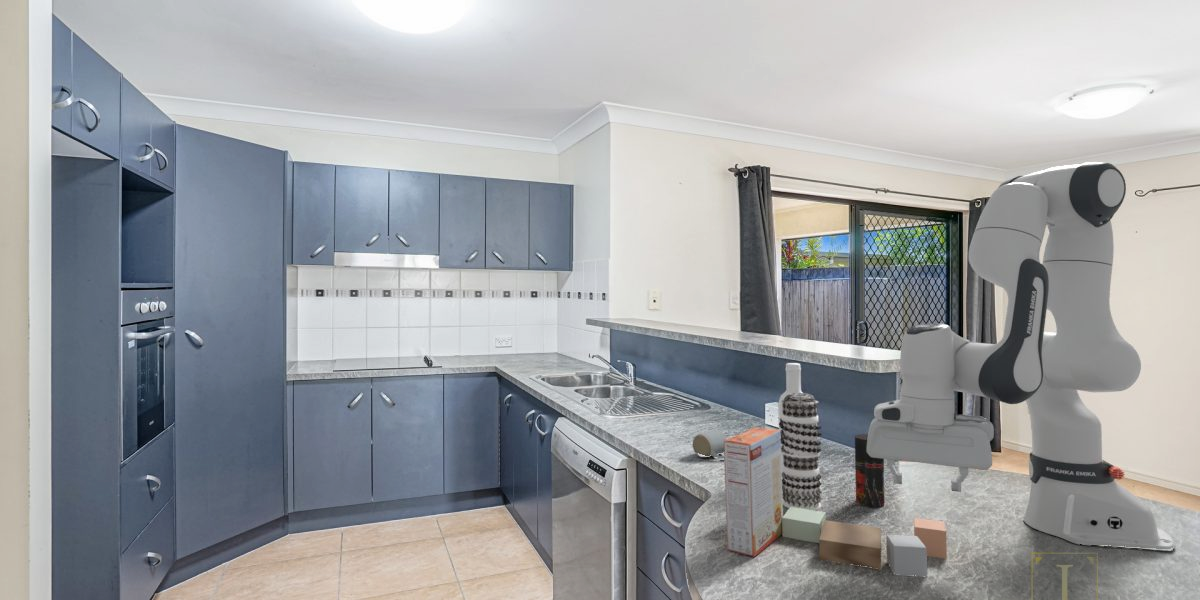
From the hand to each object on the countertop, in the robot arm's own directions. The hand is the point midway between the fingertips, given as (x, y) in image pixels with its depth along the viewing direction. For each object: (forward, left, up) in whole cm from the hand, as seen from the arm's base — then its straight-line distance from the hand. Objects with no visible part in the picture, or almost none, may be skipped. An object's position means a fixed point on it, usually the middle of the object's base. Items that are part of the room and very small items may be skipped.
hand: (926, 486), depth 110 cm
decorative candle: (+25, -16, -12) cm, 32 cm away
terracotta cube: (0, 0, -12) cm, 12 cm away
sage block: (+22, +1, -12) cm, 25 cm away
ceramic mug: (+54, -48, -12) cm, 73 cm away
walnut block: (+13, +7, -12) cm, 19 cm away
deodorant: (+11, -23, -12) cm, 28 cm away
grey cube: (+4, +10, -12) cm, 16 cm away
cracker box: (+30, +9, -12) cm, 33 cm away
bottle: (+29, -34, -12) cm, 46 cm away
